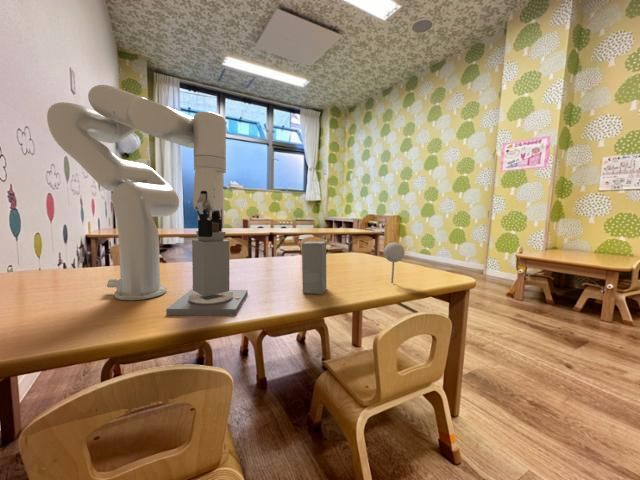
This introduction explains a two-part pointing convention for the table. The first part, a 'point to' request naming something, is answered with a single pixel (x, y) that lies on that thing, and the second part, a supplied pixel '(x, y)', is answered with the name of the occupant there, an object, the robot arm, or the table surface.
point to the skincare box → (314, 267)
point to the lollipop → (393, 254)
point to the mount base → (208, 303)
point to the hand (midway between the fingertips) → (210, 234)
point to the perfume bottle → (211, 263)
